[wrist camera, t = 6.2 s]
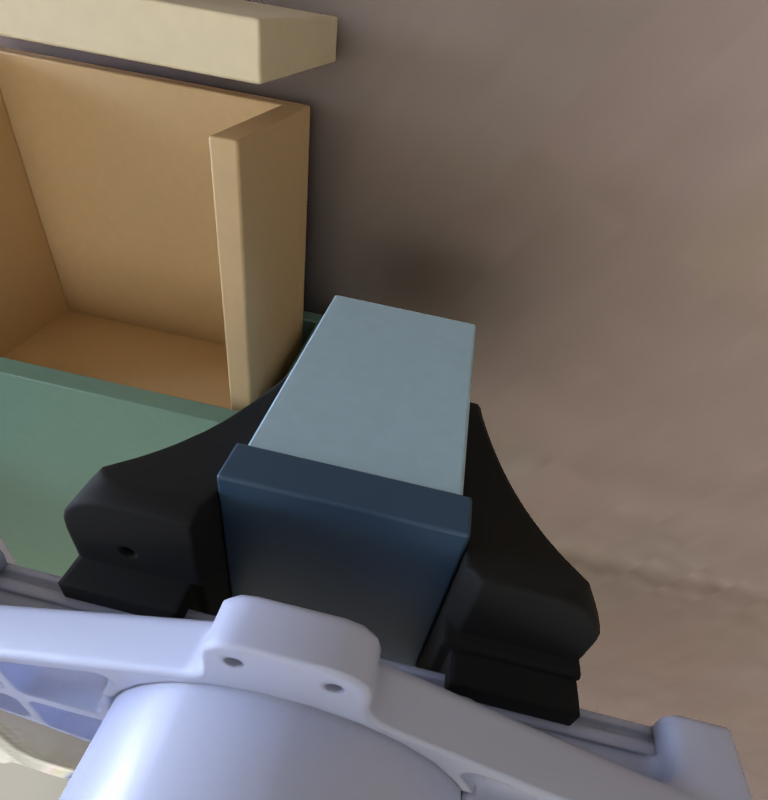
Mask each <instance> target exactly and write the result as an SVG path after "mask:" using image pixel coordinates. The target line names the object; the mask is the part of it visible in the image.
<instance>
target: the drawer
mask: <svg viewBox="0 0 768 800" xmlns="http://www.w3.org/2000/svg"><path fill="white" fill-rule="evenodd" d="M337 23H338V19H337V17H335V16H330V15H324V14H319V13H313V12H308V11H302V10H296V9H291V8H285V7H280V6H274V5H269V4H263V3H257V2H252V1H246V0H0V36H5V37H10V38H15V39H20V40H26V41H31V42H36V43H42V44H47V45H52V46H57V47H63V48H68V49H73V50H79V51H84V52H89V53H94V54H100V55H105V56H110V57H115V58H121V59H126V60H131V61H137V62H142V63H147V64H152V65H158V66H163V67H168V68H174V69H179V70H184V71H189V72H195V73H200V74H205V75H211V76H216V77H221V78H226V79H232V80H237V81H242V82H248V83H253V84H258V85H260V84H263V83H266V82H270V81H273V80H276V79H280V78H283V77H286V76H289V75H293V74H296V73H299V72H303V71H306V70H309V69H313V68H316V67H319V66H323V65H326V64H329V63H333V62H335V57H336V40H337ZM309 129H310V106H309V105H305V104H300V103H294V102H289V101H284V100H279V99H273V98H268V97H263V96H258V95H252V94H247V93H242V92H237V91H231V90H226V89H221V88H216V87H211V86H205V85H200V84H195V83H190V82H184V81H179V80H174V79H169V78H163V77H158V76H153V75H148V74H142V73H137V72H132V71H127V70H121V69H116V68H111V67H106V66H100V65H95V64H90V63H85V62H79V61H74V60H69V59H64V58H58V57H53V56H48V55H43V54H37V53H32V52H27V51H22V50H16V49H11V48H6V47H1V46H0V357H4V358H8V359H13V360H17V361H21V362H26V363H30V364H35V365H39V366H43V367H48V368H52V369H56V370H61V371H65V372H70V373H74V374H78V375H83V376H87V377H91V378H96V379H100V380H105V381H109V382H113V383H118V384H122V385H127V386H131V387H135V388H140V389H144V390H148V391H153V392H157V393H162V394H166V395H170V396H175V397H179V398H184V399H188V400H192V401H197V402H201V403H205V404H210V405H214V406H219V407H223V408H227V409H232V410H236V411H240V410H242V409H243V408H245V407H246V406H248V405H249V404H251V403H252V402H254V401H255V400H257V399H258V398H259V397H261V396H262V395H263V394H265V393H266V392H267V391H269V390H270V389H271V388H273V387H274V386H275V385H276V384H278V383H279V382H280V381H281V380H282V379H284V378H285V376H286V374H287V373H288V371H289V369H290V367H291V366H292V364H293V362H294V361H295V359H296V357H297V356H298V354H299V352H300V350H301V349H302V334H303V305H304V275H305V246H306V217H307V187H308V158H309Z"/></svg>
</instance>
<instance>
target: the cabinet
mask: <svg viewBox="0 0 768 800" xmlns="http://www.w3.org/2000/svg"><path fill="white" fill-rule="evenodd" d="M322 317H323V315H321V314H316V313H311V312H307V311H303V334H302V349H301V350H300V352H299V354H298V356H297V357H296V359H295V361H294V362H293V364H292V366H291V367H290V369H289V371H288V373H287V374H286V376H287V375H289V374H290V372H291V370H292V369H293V367H294V365H295V364H296V362H297V360H298V358H299V357H300V355H301V353H302V352H303V350H304V348H305V346H306V345H307V343H308V341H309V340H310V338H311V336H312V334H313V333H314V331H315V329H316V327H317V326H318V324H319V322H320V321H321V319H322ZM286 376H285V377H286ZM237 412H239V411H236V410H232V409H227V408H223V407H219V406H214V405H210V404H205V403H201V402H197V401H192V400H188V399H184V398H179V397H175V396H170V395H166V394H162V393H157V392H153V391H148V390H144V389H140V388H135V387H131V386H127V385H122V384H118V383H113V382H109V381H105V380H100V379H96V378H91V377H87V376H83V375H78V374H74V373H70V372H65V371H61V370H56V369H52V368H48V367H43V366H39V365H35V364H30V363H26V362H21V361H17V360H13V359H8V358H4V357H0V537H1V539H2V540H3V542H4V544H5V545H6V547H7V549H8V550H9V552H10V553H11V555H12V557H13V558H14V560H15V562H16V563H17V565H18V566H21V567H25V568H29V569H33V570H37V571H41V572H45V573H49V574H53V575H56V576H60V577H63V575H64V574H65V573H66V571H67V570H68V569H69V568H70V566H71V565H72V564H73V562H74V561H75V560H76V559H77V557H78V556H79V554H78V552H77V549H76V547H75V545H74V543H73V541H72V539H71V536H70V534H69V532H68V530H67V528H66V524H65V521H64V517H63V515H64V510H65V508H66V507H67V505H68V504H69V503H70V502H71V501H72V500H73V499H74V497H75V496H76V495H77V494H78V493H79V492H80V490H81V489H82V488H83V487H84V486H85V485H86V484H87V482H88V481H89V480H90V479H91V478H92V477H93V476H94V475H95V474H96V473H97V472H98V471H99V470H100V469H101V468H102V467H104V466H108V465H112V464H115V463H119V462H123V461H126V460H130V459H134V458H137V457H140V456H144V455H147V454H150V453H153V452H156V451H159V450H161V449H164V448H167V447H169V446H172V445H175V444H177V443H180V442H182V441H184V440H186V439H189V438H191V437H193V436H195V435H197V434H200V433H202V432H204V431H206V430H208V429H210V428H212V427H214V426H216V425H217V424H219V423H221V422H223V421H224V420H226V419H228V418H229V417H231V416H233V415H234V414H236V413H237Z"/></svg>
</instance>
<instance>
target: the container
mask: <svg viewBox="0 0 768 800" xmlns="http://www.w3.org/2000/svg"><path fill="white" fill-rule="evenodd" d="M475 329H476V327H475V325H474V324H470V323H466V322H461V321H456V320H452V319H447V318H442V317H437V316H433V315H428V314H423V313H419V312H414V311H409V310H405V309H400V308H395V307H390V306H386V305H381V304H376V303H372V302H367V301H362V300H358V299H353V298H348V297H343V296H339V295H335V296H334V298H333V300H332V302H331V303H330V305H329V307H328V309H327V310H326V312H325V314H324V315H323V317H322V319H321V321H320V322H319V324H318V326H317V327H316V329H315V331H314V333H313V334H312V336H311V338H310V340H309V341H308V343H307V345H306V346H305V348H304V350H303V352H302V353H301V355H300V357H299V358H298V360H297V362H296V364H295V365H294V367H293V369H292V370H291V372H290V374H289V376H288V377H287V379H286V381H285V383H284V384H283V386H282V388H281V389H280V391H279V393H278V395H277V396H276V398H275V400H274V401H273V403H272V405H271V407H270V408H269V410H268V412H267V414H266V415H265V417H264V419H263V420H262V422H261V424H260V426H259V427H258V429H257V431H256V432H255V434H254V436H253V438H252V439H251V441H250V443H249V445H245V444H240V443H238V444H236V445H235V447H234V449H233V450H232V452H231V453H230V455H229V457H228V458H227V460H226V462H225V463H224V465H223V467H222V468H221V470H220V471H219V473H218V475H217V483H218V491H219V499H220V507H221V515H222V523H223V531H224V539H225V547H226V556H227V564H228V572H229V580H230V588H231V596H232V597H235V596H238V595H249V596H258V597H262V598H266V599H270V600H274V601H278V602H282V603H286V604H290V605H294V606H298V607H302V608H306V609H310V610H314V611H318V612H322V613H326V614H330V615H334V616H338V617H342V618H346V619H349V620H351V621H354V622H356V623H359V624H361V625H364V626H365V627H366V628H368V629H369V630H370V631H371V632H372V633H374V634H375V635H376V636H377V638H378V639H379V643H380V647H381V654H380V658H383V659H387V660H391V661H395V662H399V663H403V664H407V665H411V666H415V667H416V665H417V662H418V660H419V658H420V655H421V653H422V651H423V648H424V646H425V643H426V641H427V639H428V636H429V634H430V631H431V629H432V627H433V624H434V622H435V619H436V617H437V615H438V612H439V610H440V607H441V605H442V603H443V600H444V598H445V596H446V593H447V591H448V588H449V586H450V584H451V581H452V579H453V576H454V574H455V572H456V569H457V567H458V564H459V562H460V560H461V557H462V555H463V553H464V550H465V548H466V545H467V543H468V541H469V538H470V535H471V517H472V499H471V498H470V497H468V496H463V488H464V475H465V462H466V448H467V435H468V422H469V409H470V395H471V382H472V369H473V356H474V342H475Z"/></svg>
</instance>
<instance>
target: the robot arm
mask: <svg viewBox="0 0 768 800" xmlns="http://www.w3.org/2000/svg"><path fill="white" fill-rule="evenodd" d="M288 376H289V375H287V376H286V377H285V378H284V379H282V380H281V381H280V382H279V383H278V384H276V385H275V386H274V387H273V388H271V389H270V390H269V391H267V392H266V393H265V394H263V395H262V396H261V397H259V398H258V399H257V400H255V401H254V402H252V403H251V404H249V405H248V406H246V407H245V408H243V409H242V410H240V411H239V412H237V413H236V414H234V415H233V416H231V417H229V418H228V419H226V420H224V421H223V422H221V423H219V424H217V425H216V426H214V427H212V428H210V429H208V430H206V431H204V432H202V433H200V434H197V435H195V436H193V437H191V438H189V439H186V440H184V441H182V442H180V443H177V444H175V445H172V446H169V447H167V448H164V449H161V450H159V451H156V452H153V453H150V454H147V455H144V456H140V457H137V458H134V459H130V460H126V461H123V462H119V463H115V464H112V465H108V466H104V467H102V468H101V469H100V470H99V471H98V472H97V473H96V474H95V475H94V476H93V477H92V478H91V479H90V480H89V481H88V482H87V484H86V485H85V486H84V487H83V488H82V489H81V490H80V492H79V493H78V494H77V495H76V496H75V497H74V499H73V500H72V501H71V502H70V503H69V504H68V505H67V507H66V508H65V510H64V515H63V517H64V521H65V524H66V528H67V530H68V532H69V534H70V536H71V539H72V541H73V543H74V545H75V547H76V549H77V552H78V554H79V556H78V557H77V559H76V560H75V561H74V562H73V564H72V565H71V566H70V568H69V569H68V570H67V571H66V573H65V574H64V575H63V577H60V576H56V575H53V574H49V573H45V572H41V571H37V570H33V569H29V568H25V567H21V566H17V565H13V564H9V563H7V562H6V558H5V556H4V554H3V553H2V551H1V550H0V710H3V711H6V712H8V713H11V714H14V715H17V716H19V717H22V718H25V719H28V720H30V721H33V722H36V723H39V724H41V725H44V726H47V727H50V728H52V729H55V730H58V731H61V732H63V733H66V734H69V735H72V736H74V737H77V738H80V739H83V740H85V741H88V742H91V743H90V745H89V746H88V748H87V750H86V752H85V754H84V755H83V757H82V759H81V761H80V762H79V764H78V766H77V768H76V770H75V771H74V773H73V775H72V777H71V779H70V780H69V782H68V784H67V786H66V788H65V789H64V791H63V793H62V795H61V796H60V798H59V800H752V797H751V794H750V791H749V787H748V784H747V781H746V778H745V775H744V772H743V769H742V766H741V763H740V759H739V756H738V753H737V750H736V747H735V744H734V741H733V738H732V735H731V732H730V730H728V729H727V728H725V727H722V726H718V725H714V724H710V723H706V722H702V721H698V720H694V719H690V718H686V717H681V716H666V717H663V718H661V719H659V720H658V721H657V722H656V723H655V724H654V725H653V726H652V727H651V726H647V725H643V724H639V723H635V722H631V721H627V720H623V719H619V718H615V717H611V716H607V715H603V714H599V713H595V712H592V711H588V710H584V709H580V708H579V701H578V692H577V683H576V680H577V681H578V680H579V679H580V675H581V673H580V665H579V659H580V658H581V657H582V656H583V655H584V654H585V652H586V651H587V650H588V649H589V648H590V647H591V646H592V645H593V644H594V642H595V641H596V640H597V638H598V636H599V634H600V624H599V618H598V612H597V608H596V604H595V601H594V597H593V594H592V591H591V588H590V584H589V582H588V581H587V580H586V579H585V578H584V577H583V576H582V575H581V574H580V573H579V572H578V571H577V570H576V569H575V568H574V567H572V566H571V565H570V564H569V563H568V562H567V561H566V560H565V559H564V557H563V556H562V555H561V554H560V553H559V552H558V551H557V550H556V548H555V547H554V546H553V545H552V544H551V543H550V542H549V540H548V539H547V538H546V537H545V535H544V534H543V533H542V531H541V530H540V529H539V528H538V526H537V525H536V524H535V522H534V521H533V520H532V518H531V517H530V515H529V514H528V512H527V511H526V509H525V508H524V506H523V505H522V503H521V502H520V500H519V498H518V497H517V495H516V493H515V492H514V490H513V488H512V486H511V485H510V483H509V481H508V479H507V477H506V475H505V473H504V471H503V469H502V467H501V465H500V462H499V460H498V458H497V456H496V453H495V451H494V448H493V446H492V443H491V441H490V438H489V435H488V433H487V430H486V427H485V423H484V420H483V417H482V413H481V409H480V407H479V405H478V404H475V403H470V409H469V422H468V435H467V448H466V462H465V475H464V488H463V496H468V497H470V498H471V499H472V517H471V535H470V538H469V541H468V543H467V545H466V548H465V550H464V553H463V555H462V557H461V560H460V562H459V564H458V567H457V569H456V572H455V574H454V576H453V579H452V581H451V584H450V586H449V588H448V591H447V593H446V596H445V598H444V600H443V603H442V605H441V607H440V610H439V612H438V615H437V617H436V619H435V622H434V624H433V627H432V629H431V631H430V634H429V636H428V639H427V641H426V643H425V646H424V648H423V651H422V653H421V655H420V658H419V660H418V662H417V665H416V667H415V666H411V665H407V664H403V663H399V662H395V661H391V660H387V659H383V658H380V654H381V647H380V643H379V639H378V638H377V636H376V635H375V634H374V633H372V632H371V631H370V630H369V629H368V628H366V627H365V626H364V625H361V624H359V623H356V622H354V621H351V620H349V619H346V618H342V617H338V616H334V615H330V614H326V613H322V612H318V611H314V610H310V609H306V608H302V607H298V606H294V605H290V604H286V603H282V602H278V601H274V600H270V599H266V598H262V597H258V596H249V595H238V596H235V597H232V596H231V588H230V580H229V572H228V564H227V556H226V547H225V539H224V531H223V523H222V515H221V507H220V499H219V491H218V483H217V475H218V473H219V471H220V470H221V468H222V467H223V465H224V463H225V462H226V460H227V458H228V457H229V455H230V453H231V452H232V450H233V449H234V447H235V445H236V444H238V443H240V444H245V445H249V443H250V441H251V439H252V438H253V436H254V434H255V432H256V431H257V429H258V427H259V426H260V424H261V422H262V420H263V419H264V417H265V415H266V414H267V412H268V410H269V408H270V407H271V405H272V403H273V401H274V400H275V398H276V396H277V395H278V393H279V391H280V389H281V388H282V386H283V384H284V383H285V381H286V379H287V377H288Z"/></svg>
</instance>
